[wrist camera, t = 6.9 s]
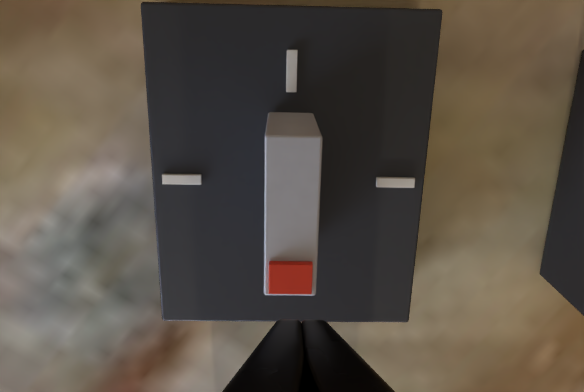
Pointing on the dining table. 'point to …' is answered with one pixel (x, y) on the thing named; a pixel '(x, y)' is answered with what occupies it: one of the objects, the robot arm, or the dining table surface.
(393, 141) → the timer panel
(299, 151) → the gray box
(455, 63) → the dining table surface
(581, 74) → the power block
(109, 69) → the dining table surface
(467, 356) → the dining table surface
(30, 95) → the dining table surface
